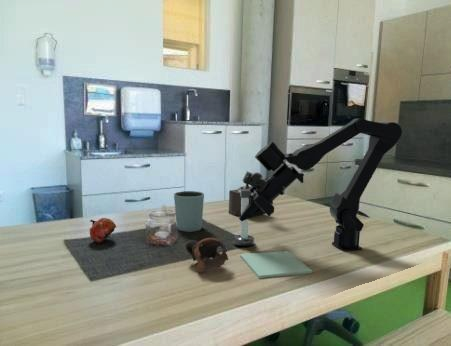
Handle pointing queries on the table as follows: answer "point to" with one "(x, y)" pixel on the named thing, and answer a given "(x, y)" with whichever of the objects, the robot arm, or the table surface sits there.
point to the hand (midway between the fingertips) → (239, 218)
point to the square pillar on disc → (244, 222)
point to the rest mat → (274, 264)
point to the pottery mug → (207, 253)
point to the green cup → (189, 210)
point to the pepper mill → (237, 199)
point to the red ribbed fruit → (101, 229)
